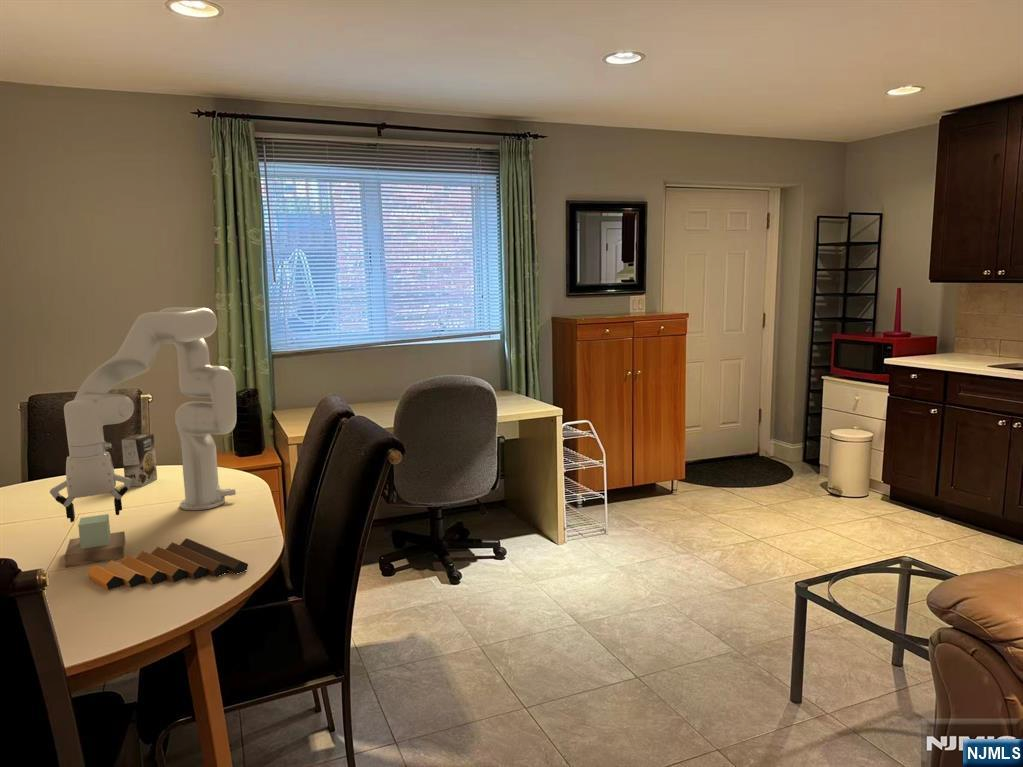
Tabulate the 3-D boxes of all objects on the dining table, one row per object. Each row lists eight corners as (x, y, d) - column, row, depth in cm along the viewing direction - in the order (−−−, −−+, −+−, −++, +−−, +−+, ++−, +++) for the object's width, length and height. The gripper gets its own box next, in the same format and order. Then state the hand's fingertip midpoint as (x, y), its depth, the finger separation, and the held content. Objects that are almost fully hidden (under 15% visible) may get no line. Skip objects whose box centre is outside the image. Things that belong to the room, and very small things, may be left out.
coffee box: (143, 486, 232) (139, 439, 230) (124, 486, 232) (120, 439, 230) (158, 479, 241) (154, 433, 239) (140, 479, 241) (136, 433, 239)
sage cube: (110, 536, 177) (108, 514, 176) (109, 544, 172) (106, 521, 171) (83, 540, 174) (80, 517, 174) (80, 548, 169) (78, 525, 168)
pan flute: (248, 572, 163) (193, 548, 178) (247, 558, 162) (192, 536, 178) (138, 612, 144) (87, 581, 159) (137, 596, 143) (86, 567, 158)
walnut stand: (125, 542, 182) (124, 531, 181) (123, 558, 171) (122, 546, 170) (71, 550, 176) (70, 539, 176) (65, 567, 166) (64, 555, 165)
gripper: (128, 442, 177) (135, 506, 180) (47, 451, 169) (56, 518, 172) (127, 448, 170) (134, 515, 173) (42, 458, 163) (52, 528, 166)
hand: (95, 516), depth 173 cm, fingers open, 9 cm apart
